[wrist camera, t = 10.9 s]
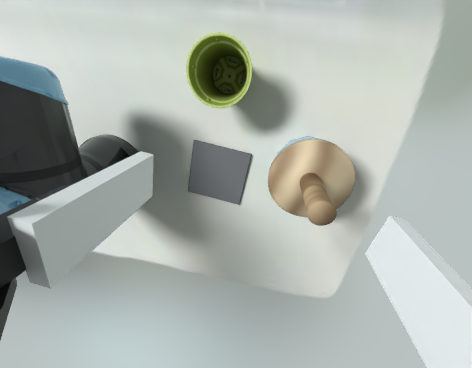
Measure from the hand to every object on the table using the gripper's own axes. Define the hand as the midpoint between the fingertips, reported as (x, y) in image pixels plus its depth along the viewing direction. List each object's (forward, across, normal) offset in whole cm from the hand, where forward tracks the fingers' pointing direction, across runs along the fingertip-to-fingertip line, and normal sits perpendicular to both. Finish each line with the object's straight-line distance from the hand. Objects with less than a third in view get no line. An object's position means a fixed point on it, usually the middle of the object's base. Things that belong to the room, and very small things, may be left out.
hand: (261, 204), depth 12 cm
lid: (+25, +9, -7) cm, 28 cm away
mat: (+31, -8, -13) cm, 34 cm away
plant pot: (+31, -9, +6) cm, 33 cm away
